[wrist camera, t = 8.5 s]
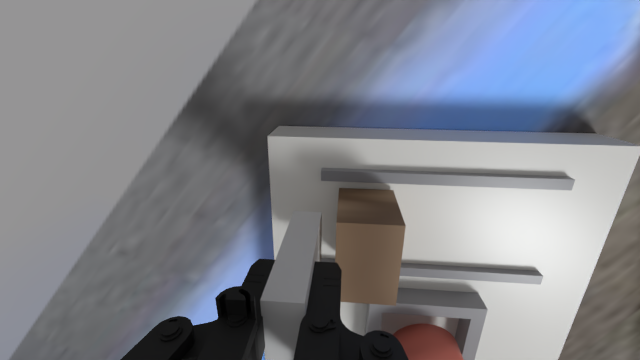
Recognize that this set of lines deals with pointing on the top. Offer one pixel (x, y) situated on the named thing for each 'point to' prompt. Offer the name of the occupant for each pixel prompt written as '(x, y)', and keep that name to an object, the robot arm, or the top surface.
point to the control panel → (467, 224)
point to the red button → (428, 343)
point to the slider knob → (369, 245)
